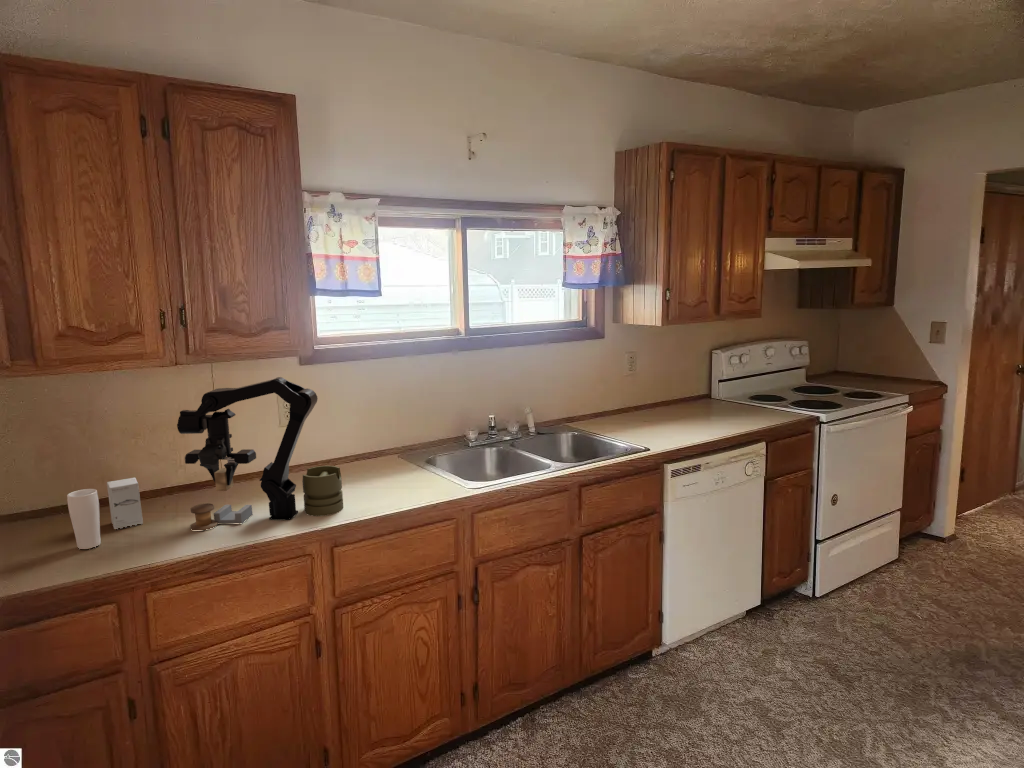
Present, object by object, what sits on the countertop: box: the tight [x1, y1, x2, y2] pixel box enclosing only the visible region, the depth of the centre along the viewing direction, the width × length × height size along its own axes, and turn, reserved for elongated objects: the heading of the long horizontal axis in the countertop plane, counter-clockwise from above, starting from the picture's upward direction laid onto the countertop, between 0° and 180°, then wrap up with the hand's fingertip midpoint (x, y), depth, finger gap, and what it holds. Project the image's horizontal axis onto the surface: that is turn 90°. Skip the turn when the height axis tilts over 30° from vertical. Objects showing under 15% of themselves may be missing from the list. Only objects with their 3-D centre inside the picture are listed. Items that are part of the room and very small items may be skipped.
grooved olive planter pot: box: [302, 465, 344, 517], centre depth 198 cm, size 11×12×11 cm
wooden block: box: [214, 467, 234, 492], centre depth 192 cm, size 3×4×6 cm, turn 178°
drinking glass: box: [66, 488, 102, 550], centre depth 173 cm, size 7×7×15 cm
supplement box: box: [106, 477, 144, 530], centre depth 189 cm, size 7×7×13 cm
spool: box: [189, 502, 219, 531], centre depth 186 cm, size 7×7×6 cm
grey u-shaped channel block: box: [213, 504, 254, 524], centre depth 192 cm, size 8×7×3 cm
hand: (223, 484), depth 191 cm, fingers closed on wooden block, 3 cm apart
